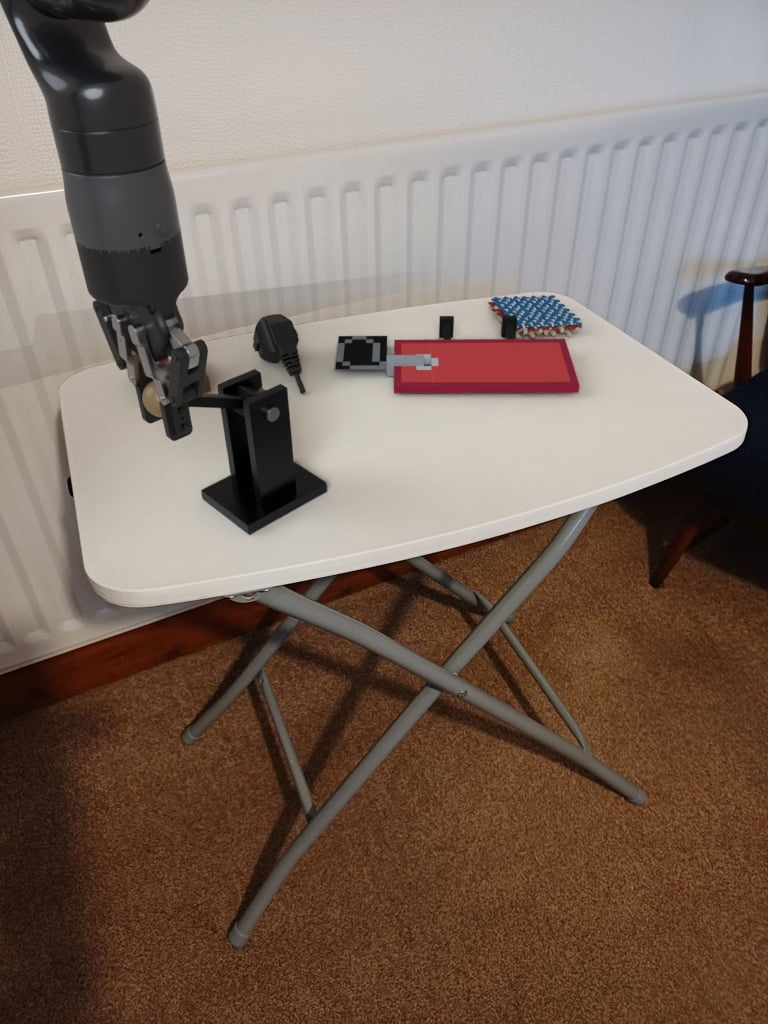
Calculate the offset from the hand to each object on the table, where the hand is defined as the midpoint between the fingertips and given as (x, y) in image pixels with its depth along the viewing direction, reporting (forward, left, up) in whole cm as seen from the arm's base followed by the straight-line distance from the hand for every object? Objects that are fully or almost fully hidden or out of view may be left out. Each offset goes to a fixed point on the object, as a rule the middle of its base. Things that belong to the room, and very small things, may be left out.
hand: (168, 426), depth 68 cm
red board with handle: (+40, +17, -12) cm, 45 cm away
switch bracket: (+9, +3, -12) cm, 15 cm away
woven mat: (+57, +22, -12) cm, 62 cm away
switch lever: (+4, +1, -1) cm, 4 cm away
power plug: (+21, +25, -13) cm, 35 cm away
